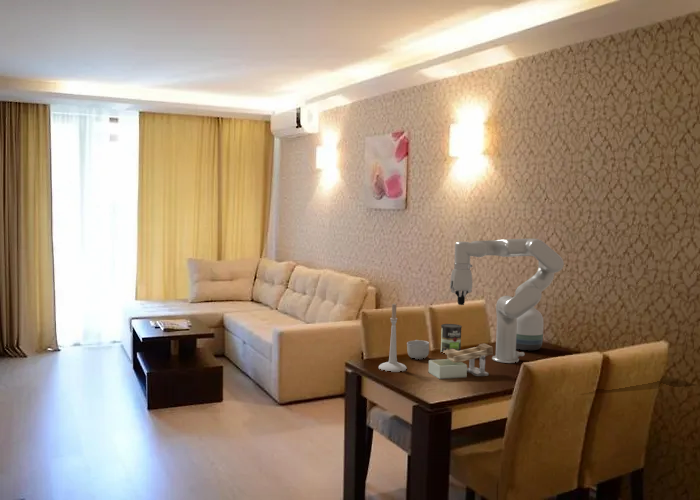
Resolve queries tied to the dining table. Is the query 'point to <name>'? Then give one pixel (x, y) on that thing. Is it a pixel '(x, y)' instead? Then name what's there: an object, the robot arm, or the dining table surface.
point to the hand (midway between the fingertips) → (460, 304)
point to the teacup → (418, 349)
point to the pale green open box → (447, 369)
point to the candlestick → (393, 348)
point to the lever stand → (476, 371)
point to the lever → (468, 353)
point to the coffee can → (450, 337)
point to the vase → (529, 330)
